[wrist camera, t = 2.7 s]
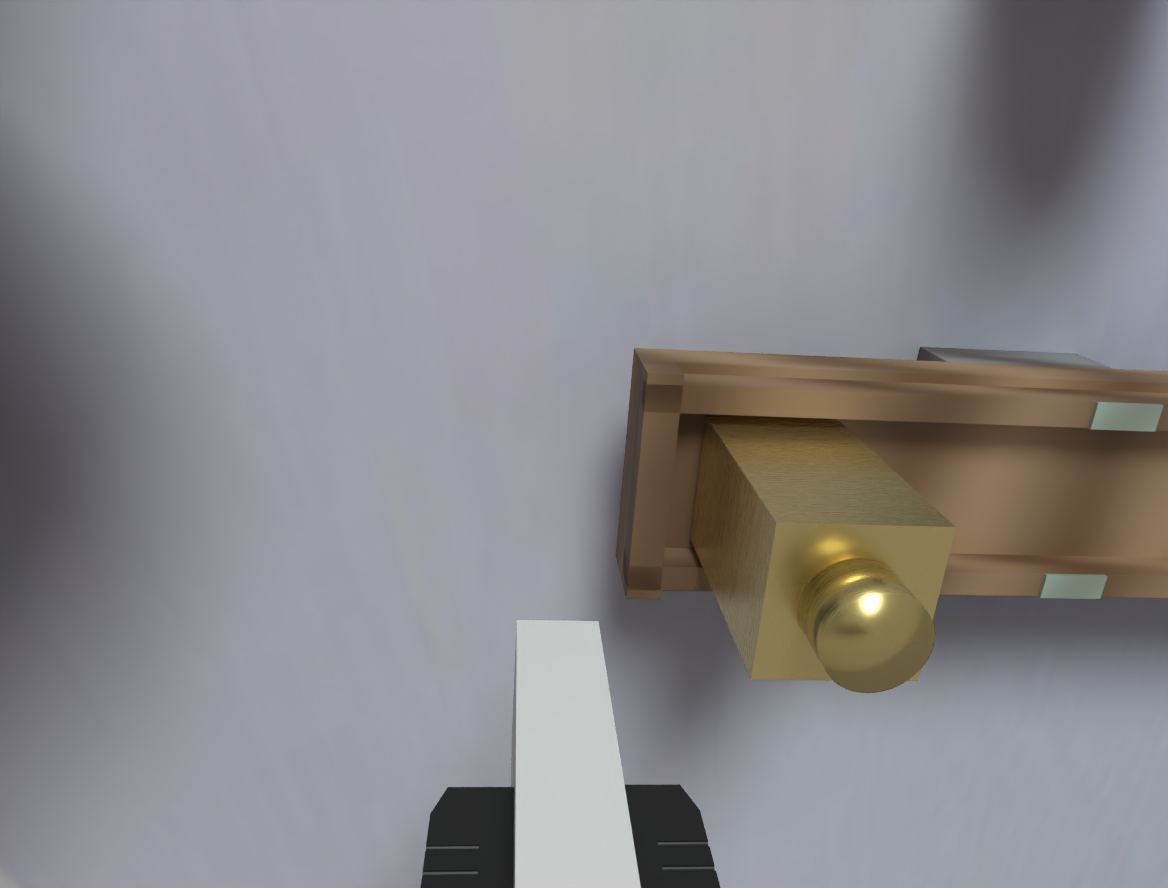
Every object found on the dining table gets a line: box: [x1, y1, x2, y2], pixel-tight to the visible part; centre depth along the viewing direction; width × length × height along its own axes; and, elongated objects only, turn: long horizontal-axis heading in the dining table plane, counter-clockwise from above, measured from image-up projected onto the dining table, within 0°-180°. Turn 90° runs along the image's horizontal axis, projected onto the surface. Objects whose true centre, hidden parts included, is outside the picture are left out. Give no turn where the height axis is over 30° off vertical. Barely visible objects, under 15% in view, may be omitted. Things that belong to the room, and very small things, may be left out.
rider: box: [690, 415, 956, 693], centre depth 21 cm, size 4×4×8 cm
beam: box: [616, 347, 1168, 599], centre depth 28 cm, size 28×7×7 cm, turn 86°
